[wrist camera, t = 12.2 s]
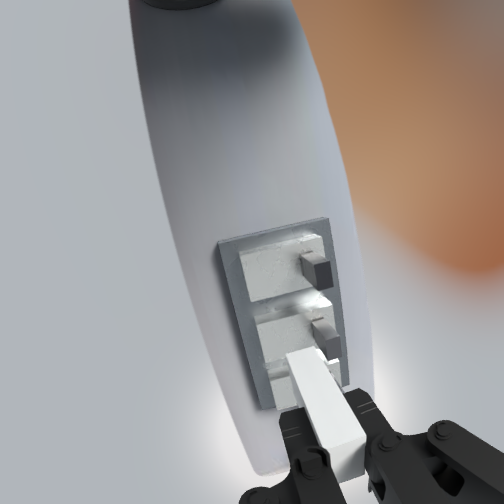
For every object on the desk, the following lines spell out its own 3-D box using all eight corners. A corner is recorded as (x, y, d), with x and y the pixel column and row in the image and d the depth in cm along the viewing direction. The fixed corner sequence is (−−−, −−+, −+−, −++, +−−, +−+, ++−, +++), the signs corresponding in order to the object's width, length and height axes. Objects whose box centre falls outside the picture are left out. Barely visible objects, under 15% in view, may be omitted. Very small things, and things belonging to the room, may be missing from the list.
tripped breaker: (311, 322, 34) (325, 340, 29) (324, 318, 34) (340, 336, 29) (314, 341, 34) (327, 361, 30) (327, 337, 34) (342, 356, 30)
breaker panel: (218, 241, 36) (218, 257, 27) (323, 217, 37) (356, 224, 27) (260, 401, 41) (270, 446, 31) (344, 377, 42) (370, 415, 32)
